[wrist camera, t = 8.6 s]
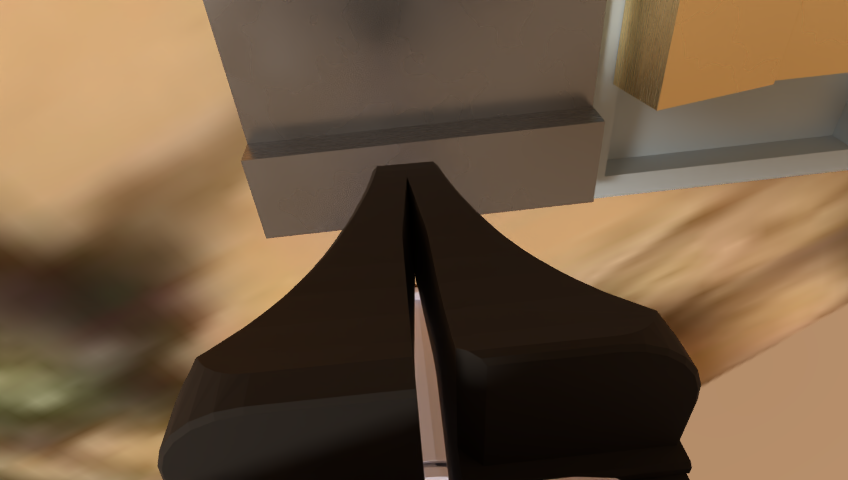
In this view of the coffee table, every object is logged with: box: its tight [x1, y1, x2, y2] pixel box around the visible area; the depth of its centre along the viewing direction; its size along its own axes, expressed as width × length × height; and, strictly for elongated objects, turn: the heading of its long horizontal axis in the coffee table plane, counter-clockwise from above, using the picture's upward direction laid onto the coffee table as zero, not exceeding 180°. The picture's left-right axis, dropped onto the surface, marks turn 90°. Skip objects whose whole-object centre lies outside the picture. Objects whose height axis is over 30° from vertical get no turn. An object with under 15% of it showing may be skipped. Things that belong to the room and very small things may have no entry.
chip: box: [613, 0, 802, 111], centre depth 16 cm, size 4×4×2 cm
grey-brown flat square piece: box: [203, 0, 607, 238], centre depth 17 cm, size 12×12×3 cm
